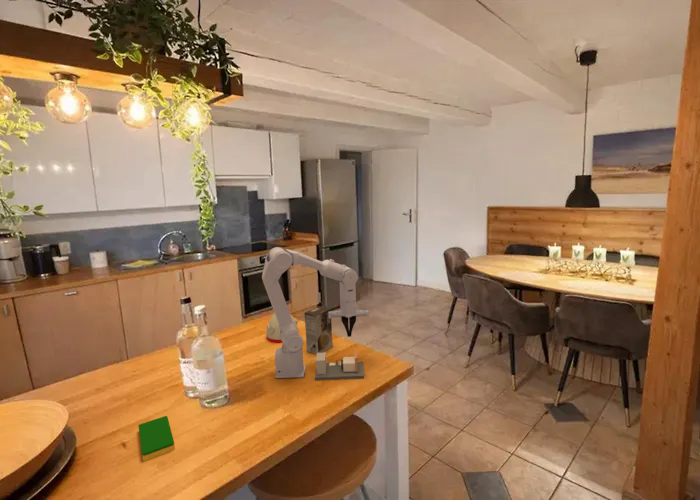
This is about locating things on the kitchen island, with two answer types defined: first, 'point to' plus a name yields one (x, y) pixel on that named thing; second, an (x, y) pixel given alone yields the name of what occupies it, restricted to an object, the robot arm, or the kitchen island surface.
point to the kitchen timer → (276, 329)
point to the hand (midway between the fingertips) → (349, 335)
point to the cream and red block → (349, 363)
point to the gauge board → (335, 370)
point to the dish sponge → (156, 438)
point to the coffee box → (318, 330)
